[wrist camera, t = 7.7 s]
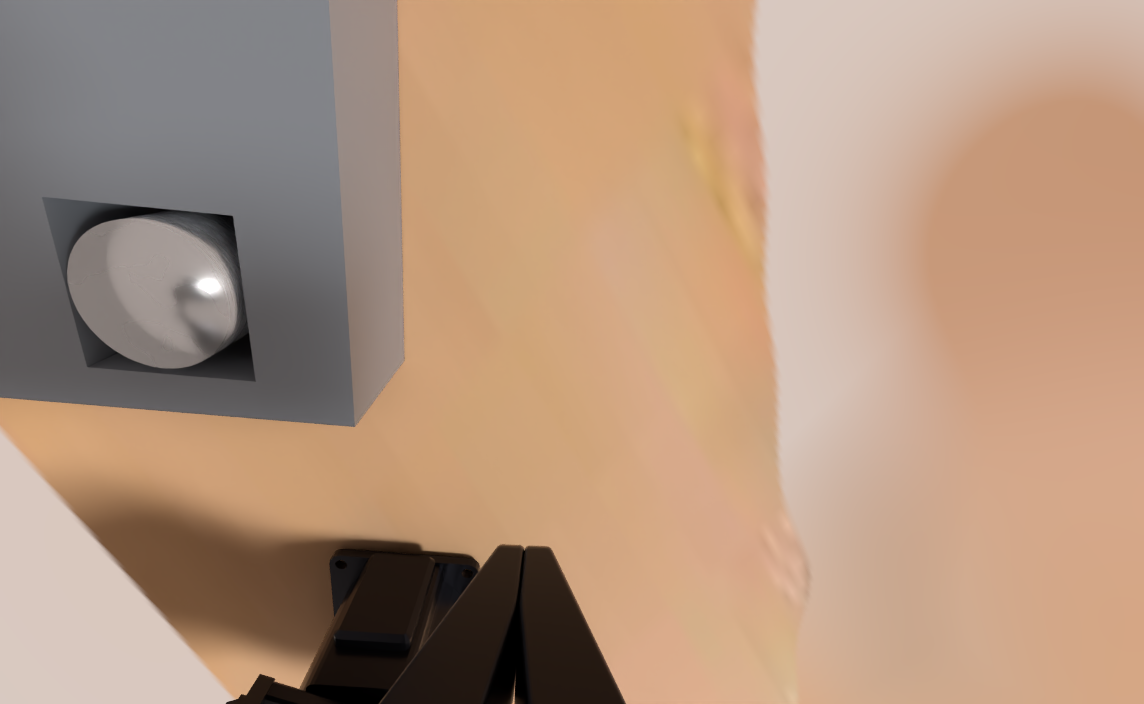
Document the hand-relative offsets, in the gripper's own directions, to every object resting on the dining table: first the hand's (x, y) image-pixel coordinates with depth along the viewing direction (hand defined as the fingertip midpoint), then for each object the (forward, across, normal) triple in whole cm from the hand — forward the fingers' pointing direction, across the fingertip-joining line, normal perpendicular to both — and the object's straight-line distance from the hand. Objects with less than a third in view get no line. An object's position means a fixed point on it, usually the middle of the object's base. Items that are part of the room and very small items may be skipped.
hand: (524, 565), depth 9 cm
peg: (+12, +10, -2) cm, 16 cm away
